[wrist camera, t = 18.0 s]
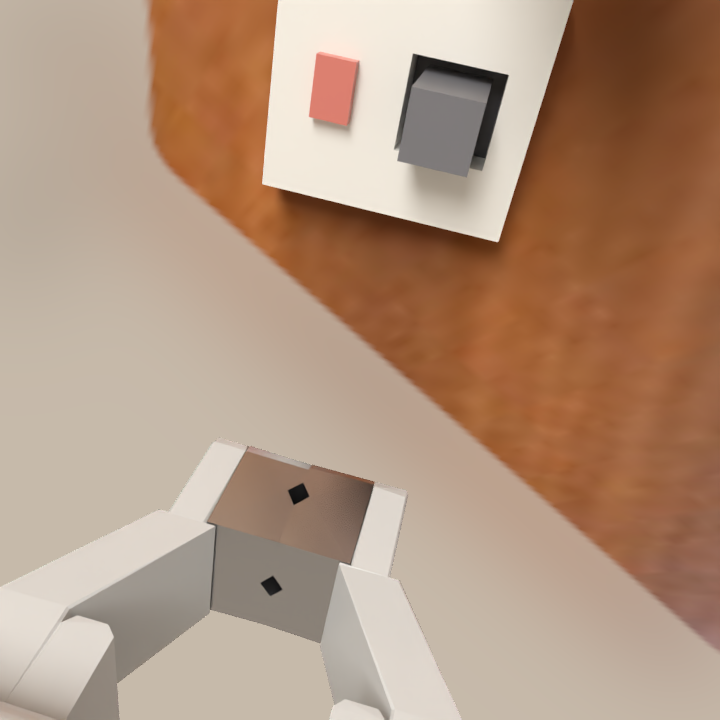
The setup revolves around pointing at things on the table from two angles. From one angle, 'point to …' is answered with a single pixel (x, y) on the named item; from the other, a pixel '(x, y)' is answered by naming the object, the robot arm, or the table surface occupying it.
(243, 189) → the table surface
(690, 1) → the table surface
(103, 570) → the robot arm
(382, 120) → the socket plate
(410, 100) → the plug
